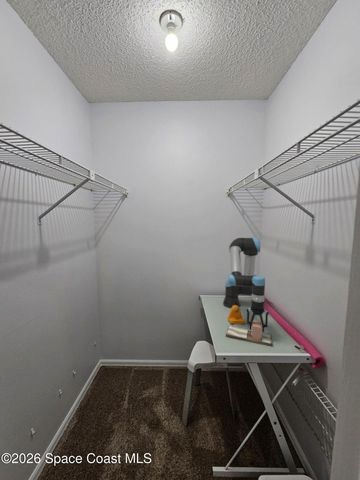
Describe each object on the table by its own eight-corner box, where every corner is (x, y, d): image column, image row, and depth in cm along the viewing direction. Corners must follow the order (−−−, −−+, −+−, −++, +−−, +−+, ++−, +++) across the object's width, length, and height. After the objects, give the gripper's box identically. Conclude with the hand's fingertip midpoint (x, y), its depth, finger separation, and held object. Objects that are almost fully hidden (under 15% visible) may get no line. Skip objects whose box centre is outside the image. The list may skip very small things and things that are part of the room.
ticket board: (228, 328, 145) (228, 325, 145) (271, 336, 135) (271, 333, 135) (225, 337, 134) (225, 334, 134) (272, 346, 124) (272, 343, 123)
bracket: (230, 324, 151) (231, 309, 150) (227, 320, 158) (228, 305, 157) (245, 324, 151) (245, 308, 151) (241, 319, 159) (241, 304, 158)
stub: (252, 331, 137) (253, 320, 137) (260, 333, 136) (261, 321, 135) (252, 338, 129) (252, 326, 129) (260, 340, 127) (261, 327, 127)
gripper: (242, 300, 131) (241, 335, 132) (273, 304, 124) (272, 341, 125) (243, 296, 137) (242, 330, 139) (273, 300, 131) (271, 335, 132)
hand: (256, 335), depth 132 cm, fingers closed on stub, 5 cm apart
